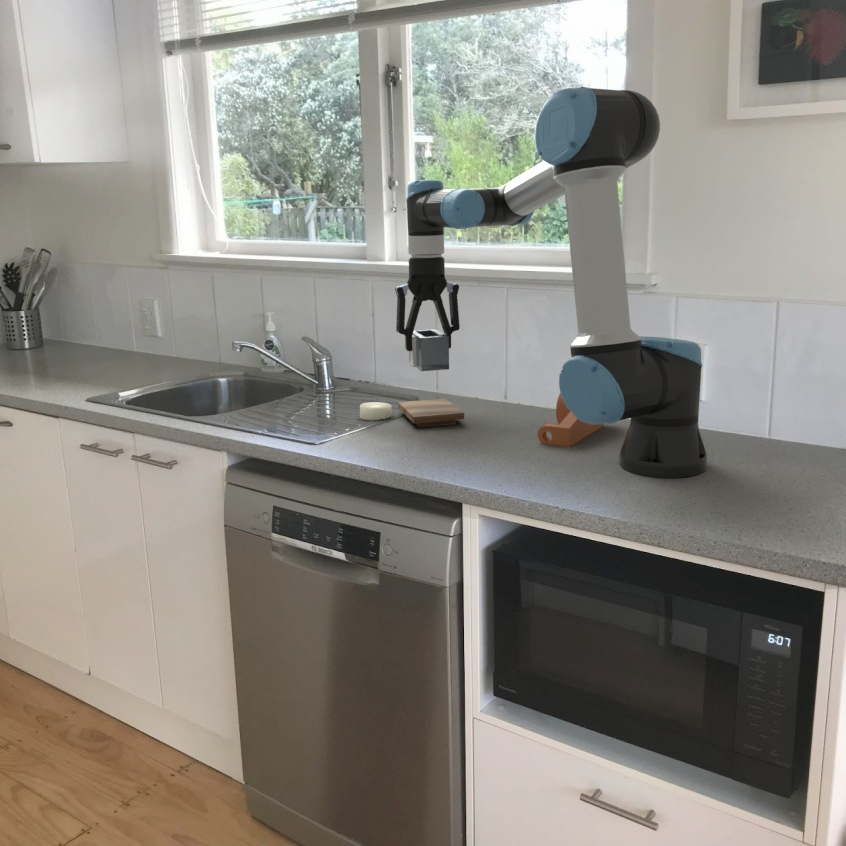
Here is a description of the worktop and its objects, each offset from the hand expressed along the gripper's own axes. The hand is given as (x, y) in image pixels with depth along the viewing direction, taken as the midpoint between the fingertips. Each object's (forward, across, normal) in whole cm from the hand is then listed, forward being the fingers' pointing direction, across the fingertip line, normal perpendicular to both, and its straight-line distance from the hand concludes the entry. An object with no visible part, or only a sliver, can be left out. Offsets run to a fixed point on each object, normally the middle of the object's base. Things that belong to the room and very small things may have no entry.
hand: (428, 364), depth 198 cm
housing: (0, 0, 0) cm, 0 cm away
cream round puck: (+12, +11, -6) cm, 18 cm away
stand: (+12, 0, 0) cm, 12 cm away
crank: (+13, -24, +20) cm, 34 cm away
